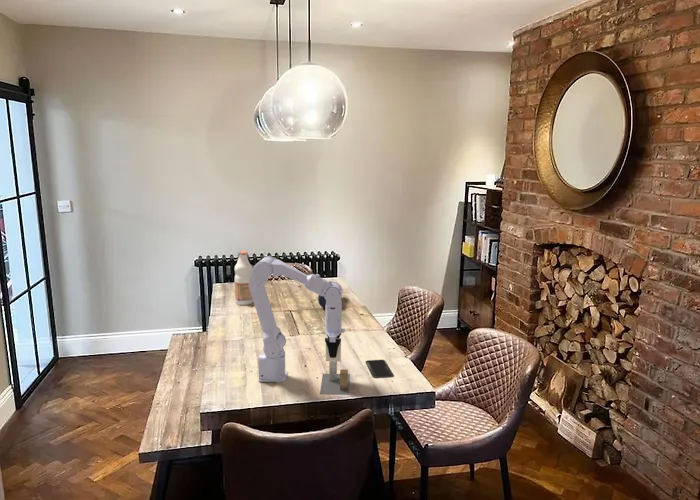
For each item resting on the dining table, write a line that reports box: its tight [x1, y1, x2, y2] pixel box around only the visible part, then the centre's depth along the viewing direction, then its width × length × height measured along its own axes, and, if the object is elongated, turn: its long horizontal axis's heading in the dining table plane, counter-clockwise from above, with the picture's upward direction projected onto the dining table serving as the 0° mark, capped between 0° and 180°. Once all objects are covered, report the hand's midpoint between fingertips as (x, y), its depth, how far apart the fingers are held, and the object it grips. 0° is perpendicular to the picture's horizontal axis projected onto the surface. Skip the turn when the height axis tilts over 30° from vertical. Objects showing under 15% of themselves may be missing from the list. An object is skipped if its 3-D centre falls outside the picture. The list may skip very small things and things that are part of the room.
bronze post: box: [339, 369, 349, 390], centre depth 173 cm, size 3×3×6 cm
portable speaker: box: [317, 295, 326, 309], centre depth 272 cm, size 25×10×10 cm, turn 177°
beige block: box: [325, 338, 342, 362], centre depth 178 cm, size 5×5×7 cm
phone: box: [365, 359, 394, 379], centre depth 190 cm, size 8×1×15 cm
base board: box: [319, 373, 351, 396], centre depth 177 cm, size 10×16×1 cm, turn 179°
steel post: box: [328, 361, 338, 381], centre depth 180 cm, size 3×3×6 cm
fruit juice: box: [234, 250, 254, 306], centre depth 268 cm, size 9×9×28 cm
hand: (333, 354), depth 179 cm, fingers closed on beige block, 5 cm apart
